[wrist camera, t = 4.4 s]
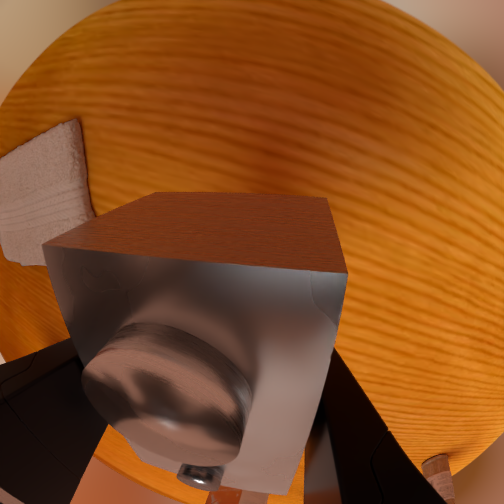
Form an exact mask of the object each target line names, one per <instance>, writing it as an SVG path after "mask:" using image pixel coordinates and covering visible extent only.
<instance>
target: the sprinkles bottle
mask: <svg viewBox="0 0 504 504" xmlns="http://www.w3.org/2000/svg"><path fill="white" fill-rule="evenodd" d="M421 468H422V470H423V476H424V477H425V478H426V479H427V481H428V482H429V483H430V484H431V485H432V486H433V487H434V489H435V490H436V491H437V492H438V493H439V494H440V495H441V497H442V498H443V499H444V500H445V501H446V502H447V503H448V504H455V502H454V498H455V497H454V489H453V483H452V477H451V472H450V468H449V463H448V456H447V455H438V456H435V457H432V458H430V459H428V460H427V461H425V462H424V463H423V464H422V467H421Z"/></svg>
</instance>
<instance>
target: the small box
mask: <svg viewBox="0 0 504 504" xmlns="http://www.w3.org/2000/svg"><path fill="white" fill-rule="evenodd" d="M268 495H269V493H261V492H254V491H248V490H242V489H237V488H231V487H226V486H222V485H220V487H219V490H218V491H210V492H209V495H208V498H207V501H206V503H205V504H267V499H268Z"/></svg>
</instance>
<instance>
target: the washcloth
mask: <svg viewBox="0 0 504 504" xmlns="http://www.w3.org/2000/svg"><path fill="white" fill-rule="evenodd" d="M83 148H84V147H83V142H82V134H81V127H80V123H78V122H77V119H73V120H71V121H68V122H65V123H64V124H62V123H60V124H59V125H57V126H56V127H54V128H51V129H50V130H48V131H46V133H41V135H39V136H37V137H34V138H33V139H32V140H30V141H29V142H27V143H25V144H24V145H20V146H18V147H17V149H15V150H13V151H12V152H9V153H8V154H7V155H6V156H4V157H2V158H1V159H0V243H1V246H2V249H3V253H4V255H5V257H6V258H7V259H8V260H9V261H13V262H19V263H21V265H22V266H27V265H45V266H47V265H46V262H45V258H44V254H43V250H42V244H43V243H45V242H47V241H49V240H51V239H53V238H55V237H57V236H59V235H61V234H63V233H65V232H67V231H69V230H71V229H73V228H75V227H77V226H79V225H81V224H83V223H85V222H87V221H89V220H92V219H94V218H96V217H95V214H94V212H93V211H92V208H91V203H90V197H89V194H88V192H89V190H88V186H87V177H88V174H87V171H86V165H85V157H84V150H83Z"/></svg>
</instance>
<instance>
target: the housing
mask: <svg viewBox="0 0 504 504" xmlns="http://www.w3.org/2000/svg"><path fill="white" fill-rule="evenodd" d="M42 250H43V254H44V258H45V262H46V265H47V269H48V273H49V276H50V280H51V283H52V286H53V289H54V293H55V296H56V299H57V302H58V305H59V307H60V310H61V313H62V316H63V318H64V321H65V324H66V326H67V329H68V331H69V334H70V336H71V339H72V341H73V343H74V346H75V348H76V350H77V352H78V355H79V357H80V359H81V361H82V363H83V365H84V367H85V368H84V370H83V372H82V375H81V382H82V386H83V389H84V392H85V394H86V396H87V398H88V400H89V401H90V403H91V404H92V406H93V407H94V408H95V409H96V411H97V412H98V413H99V414H100V415H101V416H102V418H103V419H104V420H105V421H107V422H108V423H109V424H110V425H111V426H112V427H113V428H114V429H115V430H117V431H118V432H119V433H121V434H122V435H123V436H124V437H125V439H126V440H127V441H128V443H129V444H130V446H131V447H132V449H133V450H134V451H135V453H136V454H137V455H138V457H139V458H140V460H141V461H143V462H145V463H148V464H150V465H153V466H156V467H159V468H161V469H164V470H167V471H170V472H173V473H176V474H177V478H178V479H179V480H180V481H181V482H183V483H185V484H187V485H189V486H192V487H194V488H197V489H201V490H205V491H218V490H219V487H220V485H222V486H226V487H231V488H237V489H242V490H248V491H254V492H261V493H269V494H278V495H287V492H288V490H289V488H290V485H291V483H292V480H293V478H294V475H295V473H296V470H297V467H298V465H299V462H300V459H301V457H302V454H303V451H304V448H305V445H306V442H307V439H308V436H309V433H310V430H311V427H312V424H313V421H314V418H315V415H316V411H317V408H318V405H319V401H320V398H321V394H322V391H323V387H324V384H325V380H326V376H327V372H328V368H329V364H330V360H331V356H332V352H333V348H334V344H335V339H336V335H337V330H338V325H339V321H340V316H341V311H342V305H343V300H344V295H345V289H346V283H347V277H348V271H347V267H346V263H345V259H344V256H343V252H342V248H341V245H340V241H339V238H338V234H337V231H336V227H335V224H334V220H333V217H332V214H331V211H330V207H329V204H328V201H327V198H324V197H310V196H295V195H277V194H255V193H223V192H155V193H152V194H150V195H147V196H145V197H142V198H140V199H137V200H135V201H132V202H130V203H128V204H125V205H123V206H121V207H118V208H116V209H114V210H111V211H109V212H107V213H105V214H103V215H100V216H98V217H96V218H94V219H92V220H89V221H87V222H85V223H83V224H81V225H79V226H77V227H75V228H73V229H71V230H69V231H67V232H65V233H63V234H61V235H59V236H57V237H55V238H53V239H51V240H49V241H47V242H45V243H43V244H42Z"/></svg>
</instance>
